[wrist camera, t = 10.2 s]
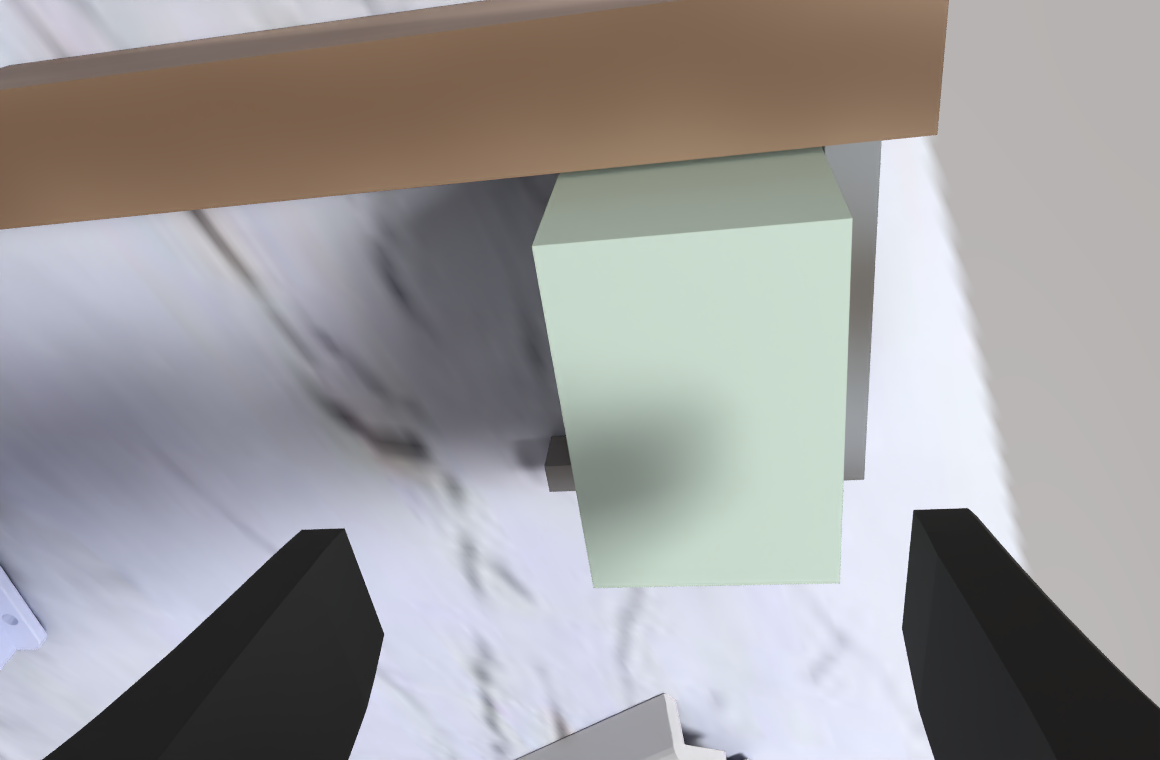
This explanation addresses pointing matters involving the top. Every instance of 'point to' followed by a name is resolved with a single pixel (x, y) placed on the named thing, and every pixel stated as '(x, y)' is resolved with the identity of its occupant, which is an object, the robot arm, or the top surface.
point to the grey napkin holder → (631, 738)
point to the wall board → (481, 113)
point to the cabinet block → (702, 365)
